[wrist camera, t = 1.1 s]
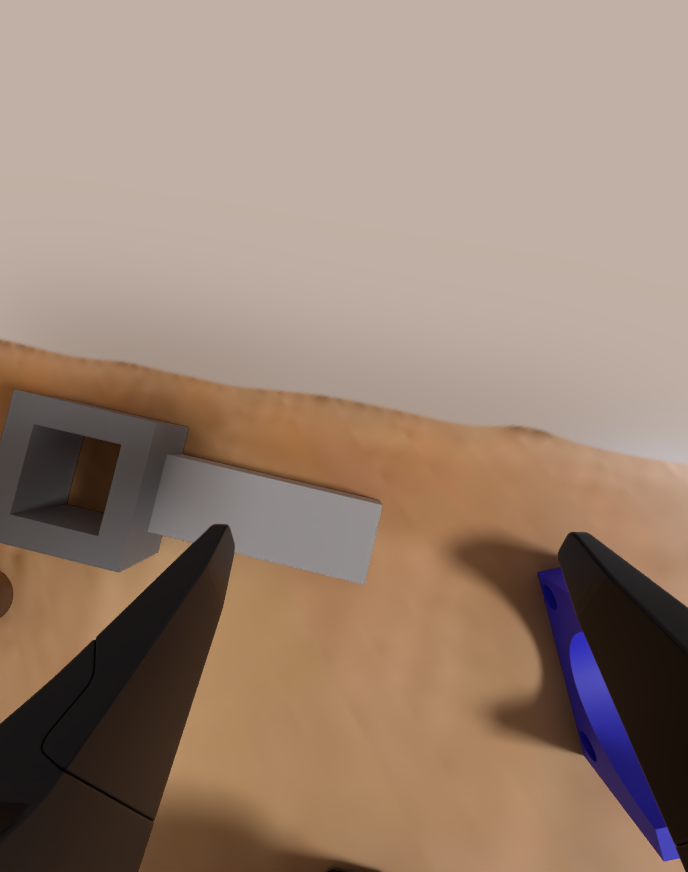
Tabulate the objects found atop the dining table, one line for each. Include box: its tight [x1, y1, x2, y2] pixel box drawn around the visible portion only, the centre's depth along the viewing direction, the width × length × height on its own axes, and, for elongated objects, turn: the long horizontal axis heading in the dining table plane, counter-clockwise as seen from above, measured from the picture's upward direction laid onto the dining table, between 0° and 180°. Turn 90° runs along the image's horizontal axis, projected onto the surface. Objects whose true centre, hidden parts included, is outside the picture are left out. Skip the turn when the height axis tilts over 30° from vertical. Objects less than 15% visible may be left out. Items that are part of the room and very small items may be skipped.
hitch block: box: [0, 390, 382, 585], centre depth 22 cm, size 9×23×4 cm, turn 77°
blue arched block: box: [538, 567, 680, 861], centre depth 20 cm, size 12×4×6 cm, turn 13°
